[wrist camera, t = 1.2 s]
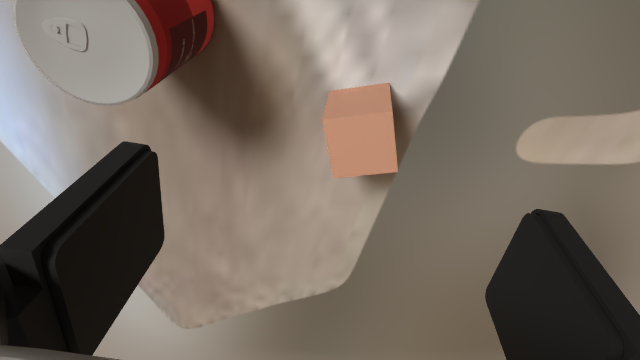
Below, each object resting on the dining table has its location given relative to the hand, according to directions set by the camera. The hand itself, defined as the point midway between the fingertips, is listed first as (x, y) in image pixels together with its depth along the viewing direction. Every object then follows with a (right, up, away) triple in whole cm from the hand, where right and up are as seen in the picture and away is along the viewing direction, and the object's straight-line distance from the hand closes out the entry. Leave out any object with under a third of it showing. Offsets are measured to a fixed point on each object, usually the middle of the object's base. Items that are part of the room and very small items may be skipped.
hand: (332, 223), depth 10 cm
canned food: (-12, +15, +21) cm, 29 cm away
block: (+3, +7, +24) cm, 25 cm away
